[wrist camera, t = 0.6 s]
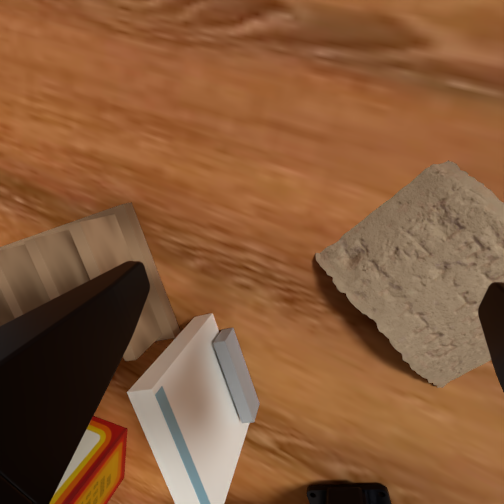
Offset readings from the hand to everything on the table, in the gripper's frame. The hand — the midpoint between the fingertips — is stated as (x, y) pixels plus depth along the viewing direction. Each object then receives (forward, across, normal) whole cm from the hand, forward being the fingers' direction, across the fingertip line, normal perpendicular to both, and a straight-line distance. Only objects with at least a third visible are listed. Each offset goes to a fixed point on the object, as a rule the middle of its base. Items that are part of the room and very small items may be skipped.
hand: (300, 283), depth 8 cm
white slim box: (+9, +6, +17) cm, 20 cm away
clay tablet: (+11, -9, +8) cm, 17 cm away
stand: (+8, +6, +17) cm, 20 cm away
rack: (+11, +18, +12) cm, 24 cm away
